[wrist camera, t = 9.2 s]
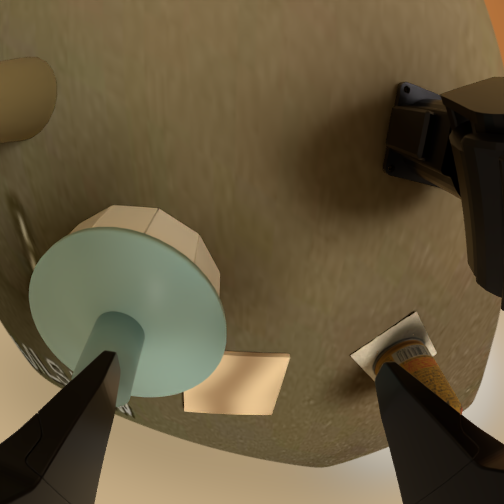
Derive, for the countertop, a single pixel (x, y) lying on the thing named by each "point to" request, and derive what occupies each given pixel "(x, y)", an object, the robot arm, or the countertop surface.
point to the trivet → (240, 385)
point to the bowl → (158, 233)
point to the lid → (129, 310)
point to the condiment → (408, 357)
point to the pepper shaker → (25, 97)
